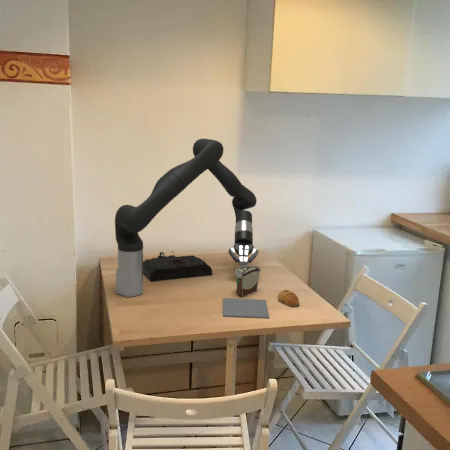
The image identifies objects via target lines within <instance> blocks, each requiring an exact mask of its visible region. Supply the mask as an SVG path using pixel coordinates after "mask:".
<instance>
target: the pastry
mask: <svg viewBox="0 0 450 450" xmlns="http://www.w3.org/2000/svg"><path fill="white" fill-rule="evenodd" d="M277 300H278V301H279V302H280V303H281V304H283V305H285V306H287V307H291V308H292V307H297V306H298V307H299V304H300V301H299V297H298V296H297V294H296V293H295V292H293V291H291V290H288V289H284V290H282V291H280V292H279V293H278V295H277Z"/></svg>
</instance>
